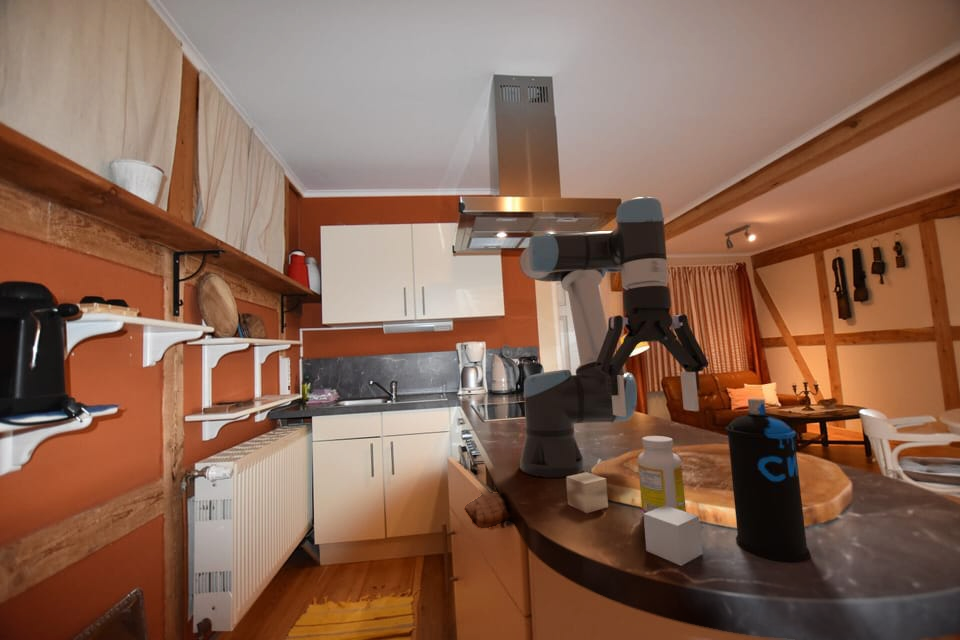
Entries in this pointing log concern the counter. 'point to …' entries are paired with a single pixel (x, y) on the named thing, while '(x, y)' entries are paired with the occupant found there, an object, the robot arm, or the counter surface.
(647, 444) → the supplement bottle
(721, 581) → the counter surface
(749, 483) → the aerosol can
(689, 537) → the grey block
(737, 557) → the counter surface
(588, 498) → the birch block
